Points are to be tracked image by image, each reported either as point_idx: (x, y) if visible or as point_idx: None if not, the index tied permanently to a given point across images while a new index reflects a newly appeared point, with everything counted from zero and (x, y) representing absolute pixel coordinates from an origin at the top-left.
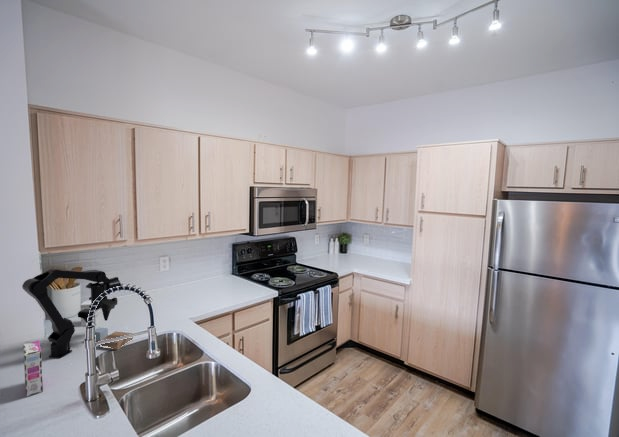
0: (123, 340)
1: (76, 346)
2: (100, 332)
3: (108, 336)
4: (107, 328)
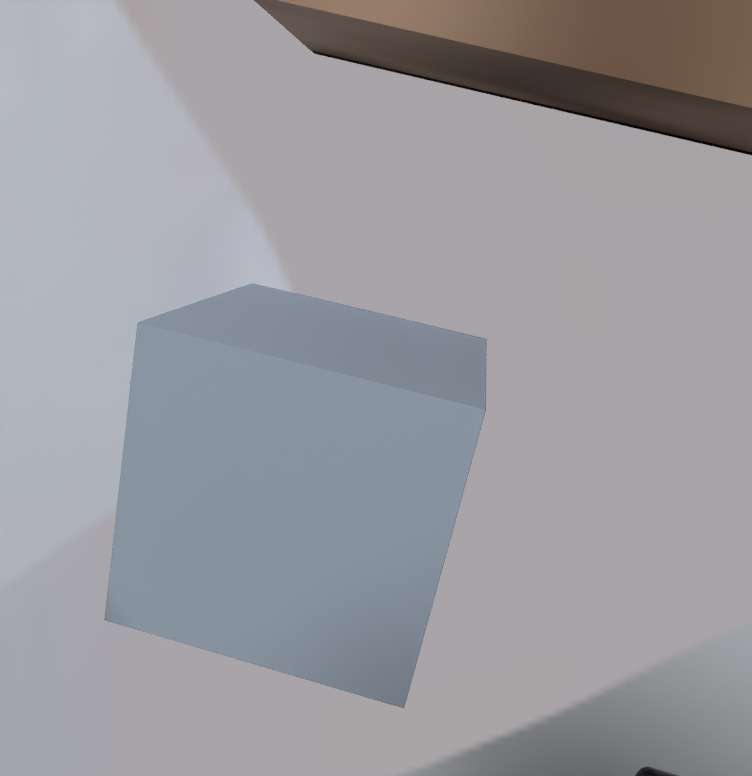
0: None
1: (657, 723)
2: (459, 400)
3: (651, 4)
4: (146, 324)
